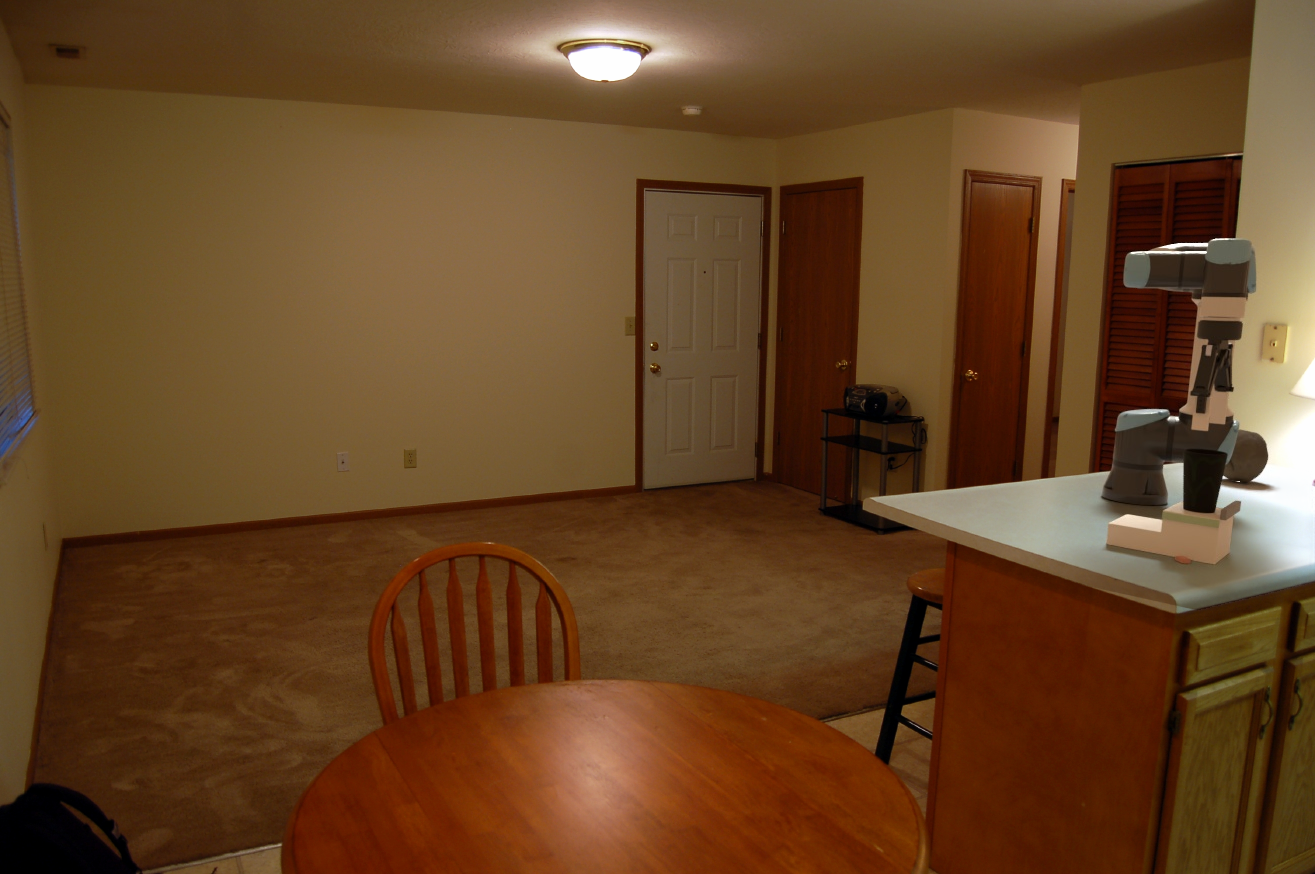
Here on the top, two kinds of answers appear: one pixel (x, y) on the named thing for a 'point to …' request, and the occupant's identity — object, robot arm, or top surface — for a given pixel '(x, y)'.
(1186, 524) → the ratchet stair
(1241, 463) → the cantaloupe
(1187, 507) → the cup
